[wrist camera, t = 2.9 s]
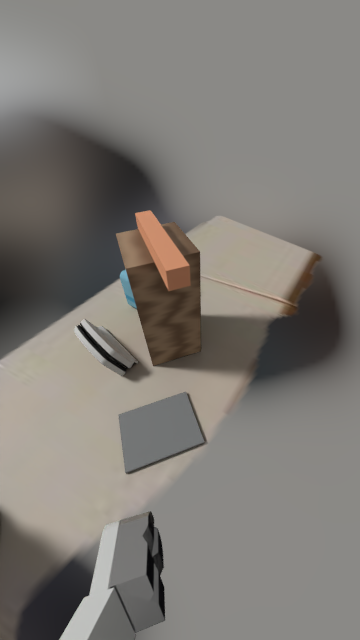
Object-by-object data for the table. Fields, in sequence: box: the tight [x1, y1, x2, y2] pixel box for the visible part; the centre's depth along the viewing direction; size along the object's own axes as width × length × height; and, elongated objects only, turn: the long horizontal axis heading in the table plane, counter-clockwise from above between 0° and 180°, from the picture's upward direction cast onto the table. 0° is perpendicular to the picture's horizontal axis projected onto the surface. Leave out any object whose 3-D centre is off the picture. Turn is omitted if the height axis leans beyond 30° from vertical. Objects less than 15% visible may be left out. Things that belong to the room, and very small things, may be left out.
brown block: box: [116, 222, 201, 366], centre depth 48 cm, size 12×14×26 cm
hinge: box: [74, 319, 138, 376], centre depth 52 cm, size 17×5×10 cm, turn 43°
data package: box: [120, 269, 137, 309], centre depth 65 cm, size 12×4×12 cm, turn 140°
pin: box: [135, 211, 191, 291], centre depth 35 cm, size 3×22×3 cm, turn 18°
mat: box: [119, 392, 204, 473], centre depth 41 cm, size 14×10×1 cm
